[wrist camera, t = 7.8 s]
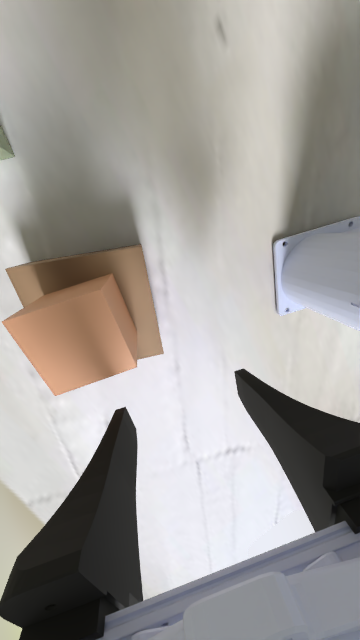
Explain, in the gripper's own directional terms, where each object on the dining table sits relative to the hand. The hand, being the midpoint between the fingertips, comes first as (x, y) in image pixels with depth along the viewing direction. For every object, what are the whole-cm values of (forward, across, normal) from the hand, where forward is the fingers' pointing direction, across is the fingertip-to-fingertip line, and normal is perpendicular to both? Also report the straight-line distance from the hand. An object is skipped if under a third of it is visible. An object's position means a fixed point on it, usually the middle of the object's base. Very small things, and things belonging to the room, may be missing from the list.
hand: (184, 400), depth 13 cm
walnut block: (+10, +5, -5) cm, 12 cm away
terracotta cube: (+6, +5, -5) cm, 9 cm away
